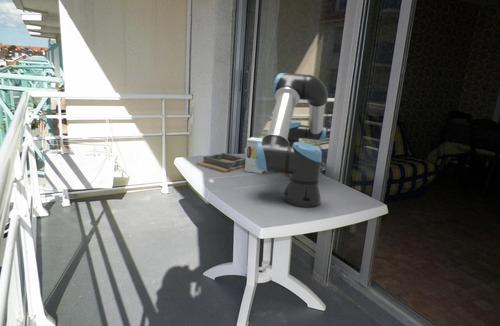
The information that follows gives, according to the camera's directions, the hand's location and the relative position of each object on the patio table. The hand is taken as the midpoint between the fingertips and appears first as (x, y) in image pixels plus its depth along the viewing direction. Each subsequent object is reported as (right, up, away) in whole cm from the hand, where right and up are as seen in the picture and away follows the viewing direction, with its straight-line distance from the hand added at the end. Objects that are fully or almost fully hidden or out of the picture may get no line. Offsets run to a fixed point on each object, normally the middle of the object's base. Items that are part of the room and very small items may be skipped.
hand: (254, 153), depth 179 cm
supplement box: (0, -9, +3) cm, 10 cm away
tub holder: (-16, -6, +9) cm, 19 cm away
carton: (+22, -13, -3) cm, 26 cm away
